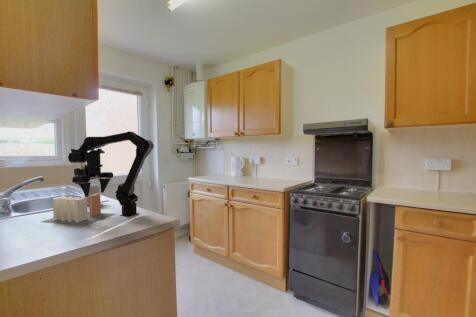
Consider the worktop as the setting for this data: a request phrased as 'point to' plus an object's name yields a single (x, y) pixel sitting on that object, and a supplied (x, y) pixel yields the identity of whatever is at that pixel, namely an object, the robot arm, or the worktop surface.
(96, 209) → the terracotta domino
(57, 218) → the domino
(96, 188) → the can
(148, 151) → the robot arm
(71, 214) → the domino
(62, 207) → the cream flat block
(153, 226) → the worktop surface
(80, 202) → the domino
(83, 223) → the mat
